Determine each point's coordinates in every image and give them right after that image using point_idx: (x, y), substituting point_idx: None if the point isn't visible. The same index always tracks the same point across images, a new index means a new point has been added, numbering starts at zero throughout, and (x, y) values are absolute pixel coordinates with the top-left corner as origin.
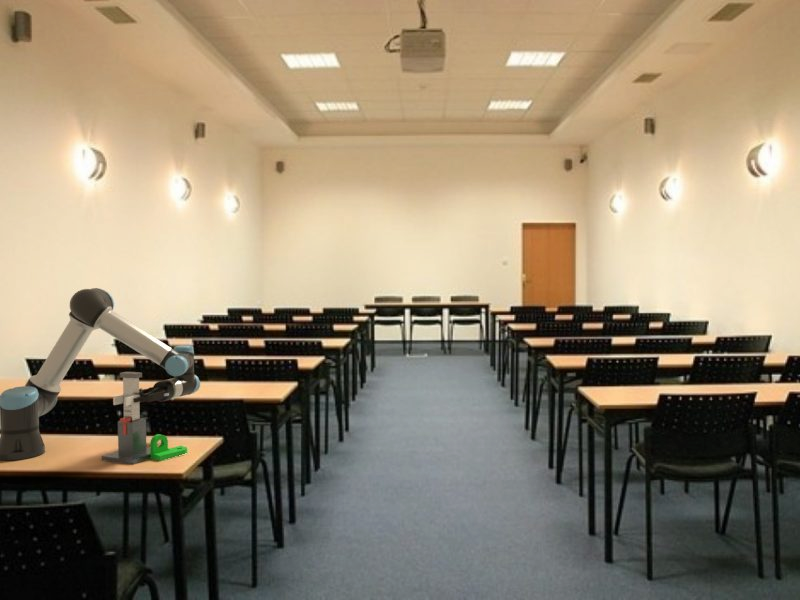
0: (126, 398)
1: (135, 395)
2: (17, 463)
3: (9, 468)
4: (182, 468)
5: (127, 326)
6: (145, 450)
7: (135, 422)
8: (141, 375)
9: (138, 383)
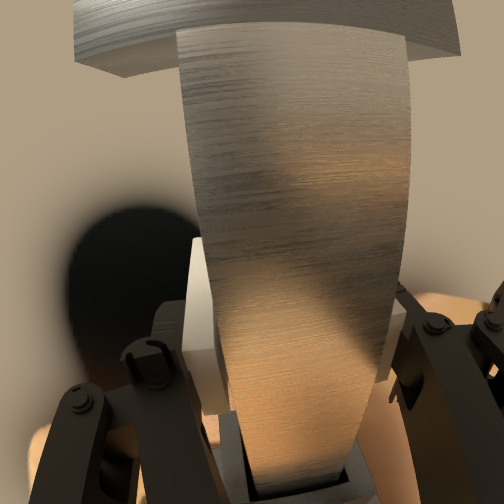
0: (193, 243)
1: (204, 308)
2: (464, 309)
3: (435, 295)
4: (37, 457)
5: None
6: None
7: (220, 436)
8: (80, 31)
9: (193, 178)
